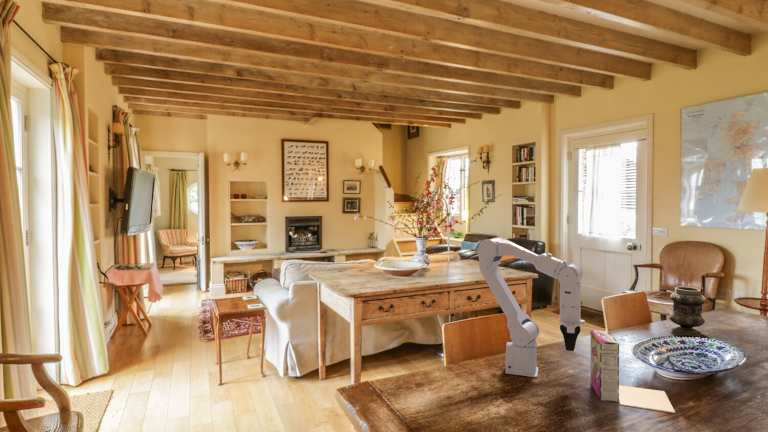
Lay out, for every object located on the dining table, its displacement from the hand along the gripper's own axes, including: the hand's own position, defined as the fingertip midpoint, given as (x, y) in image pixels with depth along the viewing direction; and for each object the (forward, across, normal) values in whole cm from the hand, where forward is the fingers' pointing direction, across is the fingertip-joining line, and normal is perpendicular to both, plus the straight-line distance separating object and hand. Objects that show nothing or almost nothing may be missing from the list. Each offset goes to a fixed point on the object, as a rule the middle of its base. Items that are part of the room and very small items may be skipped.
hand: (569, 350), depth 132 cm
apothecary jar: (+10, +68, -46) cm, 83 cm away
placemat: (+10, -4, -18) cm, 21 cm away
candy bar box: (+10, -4, -9) cm, 14 cm away
